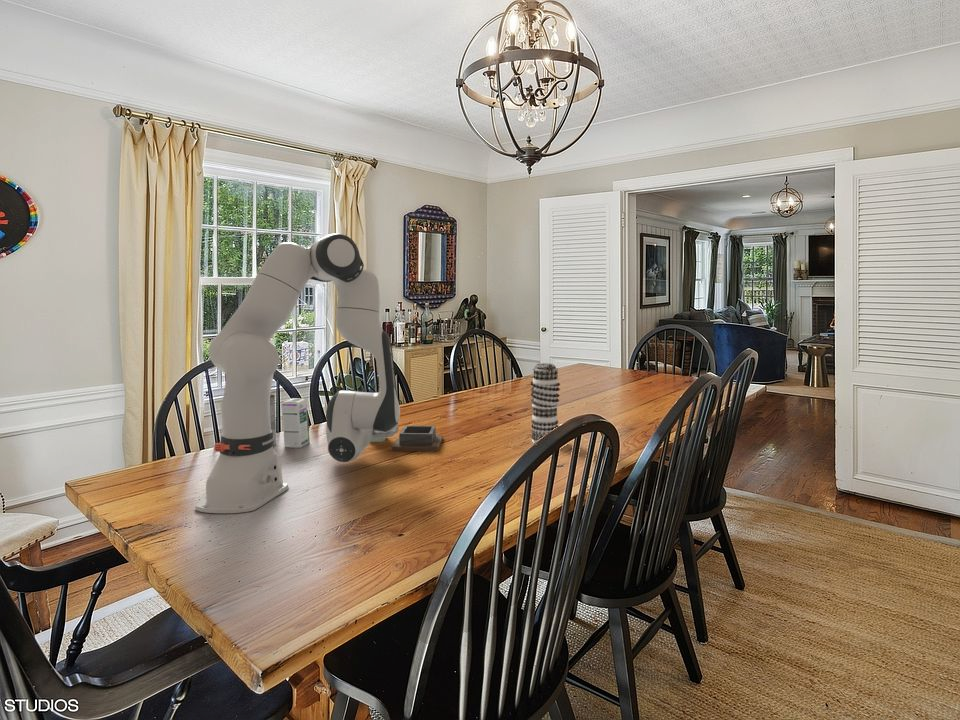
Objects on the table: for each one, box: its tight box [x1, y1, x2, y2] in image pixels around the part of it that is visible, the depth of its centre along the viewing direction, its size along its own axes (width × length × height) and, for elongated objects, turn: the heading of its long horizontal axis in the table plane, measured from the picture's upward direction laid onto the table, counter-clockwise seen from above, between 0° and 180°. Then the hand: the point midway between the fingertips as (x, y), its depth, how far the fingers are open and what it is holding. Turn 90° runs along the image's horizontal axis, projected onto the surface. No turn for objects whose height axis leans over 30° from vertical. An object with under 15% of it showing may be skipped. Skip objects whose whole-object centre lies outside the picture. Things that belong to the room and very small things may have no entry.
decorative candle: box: [530, 362, 561, 444], centre depth 181 cm, size 9×9×25 cm
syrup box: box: [281, 397, 311, 449], centre depth 179 cm, size 6×6×14 cm
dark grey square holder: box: [391, 425, 444, 452], centre depth 180 cm, size 14×14×5 cm
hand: (368, 421), depth 173 cm, fingers open, 8 cm apart
